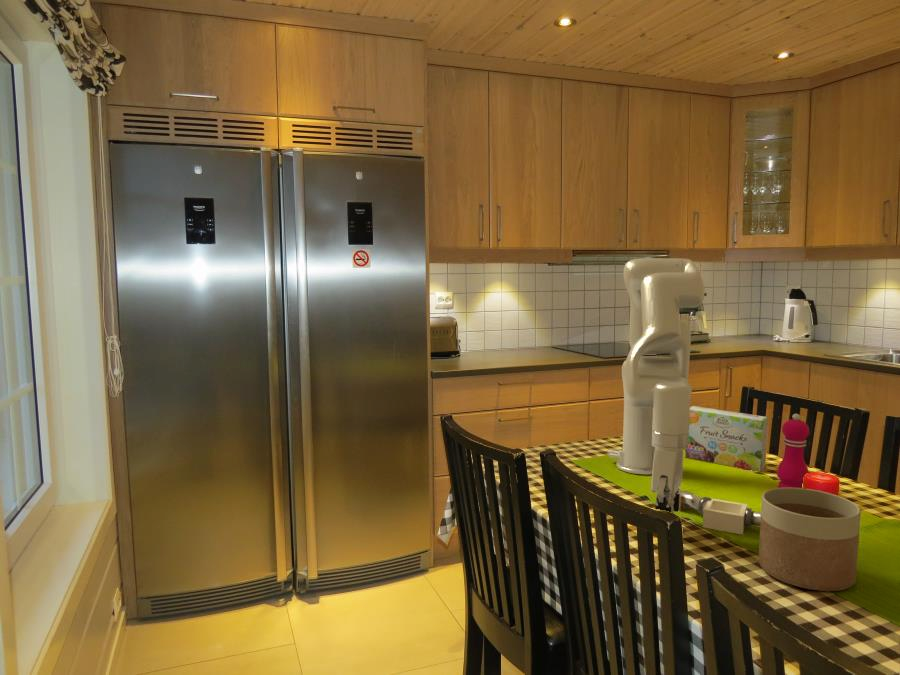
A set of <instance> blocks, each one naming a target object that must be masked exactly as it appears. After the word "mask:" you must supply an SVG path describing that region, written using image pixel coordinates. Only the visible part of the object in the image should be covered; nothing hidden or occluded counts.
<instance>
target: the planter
mask: <svg viewBox="0 0 900 675" xmlns="http://www.w3.org/2000/svg"><path fill="white" fill-rule="evenodd" d="M760 512H761V526H760V528H759V529H760V531H759V548H758V565H759V566H760V568H761V569H762V570H763V571H764V572H765V573H767V574H768V575H769V576H771V577H773V578H774V579H776V580H779V581H781V582H783V583H785V584H788V585H791V586H794V587H798V588H802V589H806V590H811V591H818V592H819V591H820V592H821V591H822V592H834V591H835V592H836V591H843V590H846V589H849V588H851V587H853V585H855V583H856V581H857V569H858V554H859V539H860V528H861V527H860V525H861V515H862V514H861V513H862V512H861V508H860V507H859V506H858V505H857V504H856V503H855V502H854V501H851V500H850V499H848V498H845V497H842V496H841V495H837V494H833V493H831V492H825V491H822V490H817V489H812V488H806V489H804V488H778V487H776V488H771V489H768V490H766V491H764V492H763V493H762V496H761V511H760Z"/></svg>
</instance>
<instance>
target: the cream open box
mask: <svg viewBox="0 0 900 675" xmlns="http://www.w3.org/2000/svg"><path fill="white" fill-rule="evenodd" d="M746 508H748V504H747V503H741V502H734V501H730V500H723V499H718V498H717V499H716V498H711V500H708V501H707V503H706V505H705V507H704V509H703V514H702V515H703V516H702V528H706V529H711V530H716V531H722V532H727V533H733V534H737V535H743V534H744V531H745V528H746V527H745V524H744V518H745V510H746Z"/></svg>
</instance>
